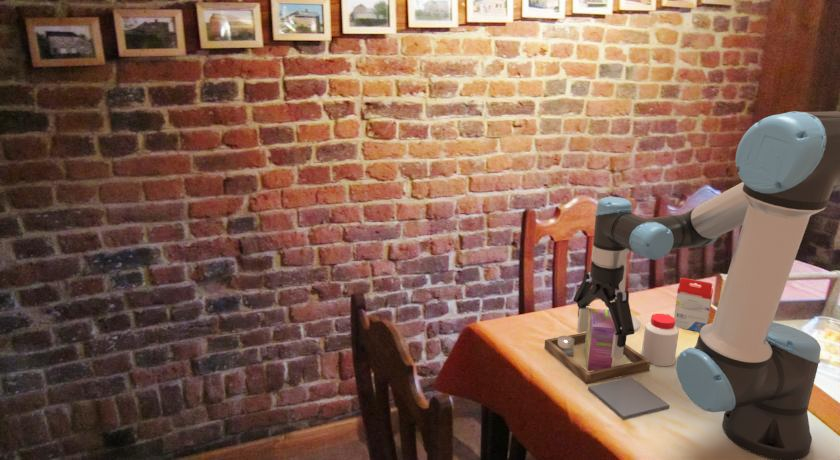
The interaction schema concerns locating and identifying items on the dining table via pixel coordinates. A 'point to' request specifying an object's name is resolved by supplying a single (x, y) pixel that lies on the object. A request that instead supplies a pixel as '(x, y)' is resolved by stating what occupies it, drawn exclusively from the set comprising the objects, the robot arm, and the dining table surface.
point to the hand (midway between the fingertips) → (598, 343)
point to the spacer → (566, 344)
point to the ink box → (693, 304)
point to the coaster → (628, 398)
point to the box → (599, 339)
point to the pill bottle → (660, 340)
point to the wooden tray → (603, 374)
